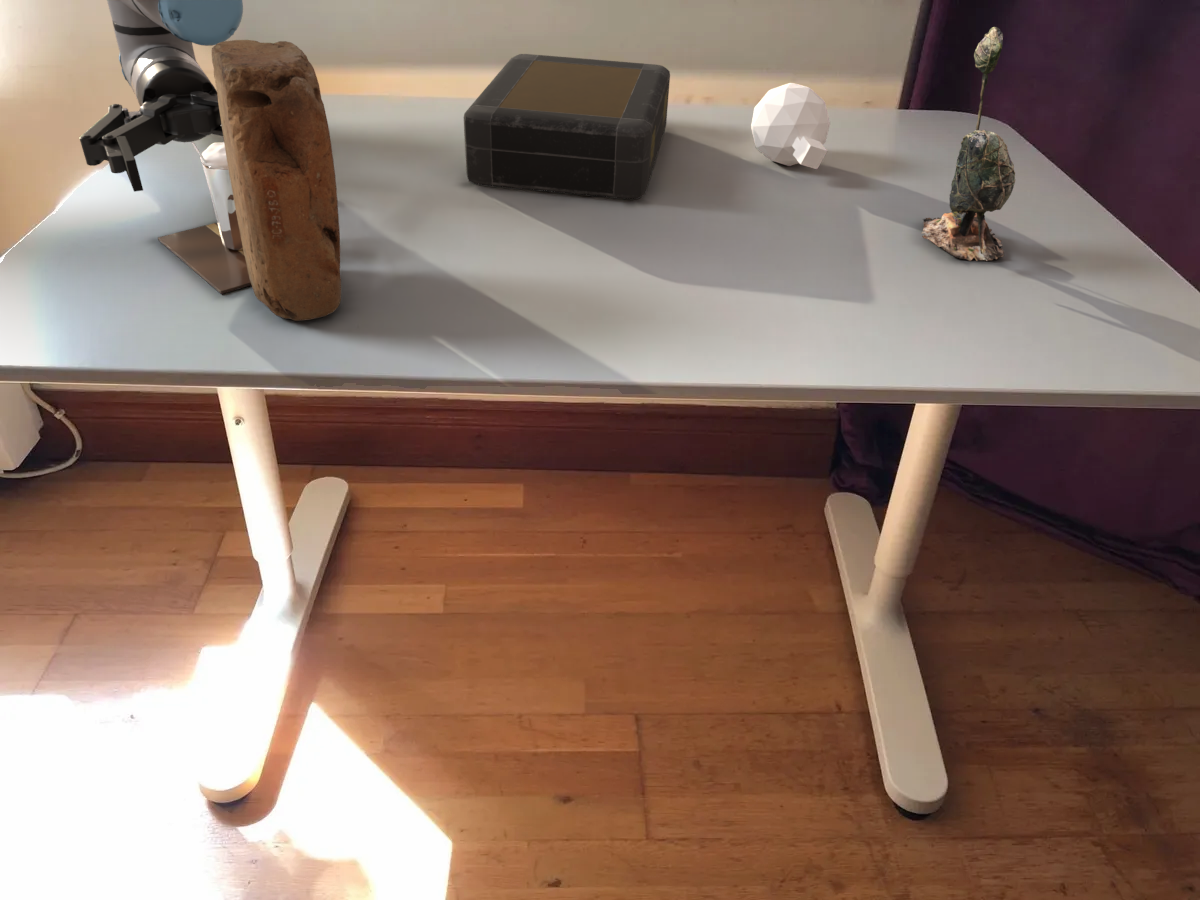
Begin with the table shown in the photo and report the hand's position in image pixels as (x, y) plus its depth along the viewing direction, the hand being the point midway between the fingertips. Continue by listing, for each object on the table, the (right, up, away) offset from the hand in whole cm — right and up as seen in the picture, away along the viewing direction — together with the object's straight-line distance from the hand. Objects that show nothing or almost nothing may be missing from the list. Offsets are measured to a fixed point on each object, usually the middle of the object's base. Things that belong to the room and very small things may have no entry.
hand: (216, 165), depth 85 cm
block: (+8, -12, -3) cm, 15 cm away
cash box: (+31, +9, +27) cm, 42 cm away
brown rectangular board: (+1, -7, +3) cm, 8 cm away
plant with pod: (+70, -5, +10) cm, 71 cm away
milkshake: (0, -6, +4) cm, 7 cm away
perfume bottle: (+56, +8, +27) cm, 62 cm away
